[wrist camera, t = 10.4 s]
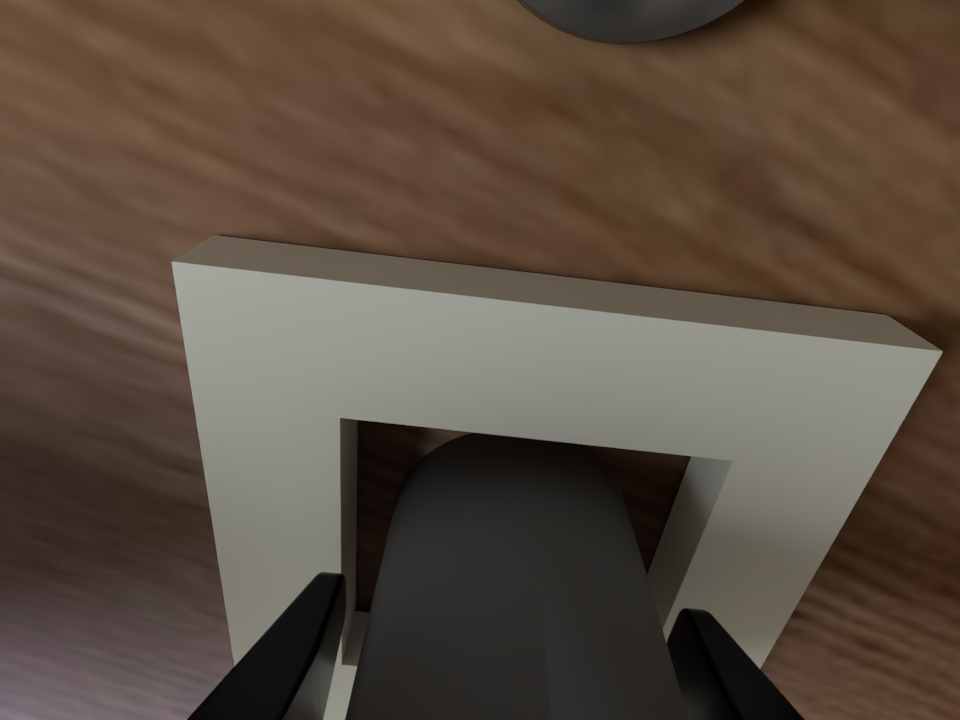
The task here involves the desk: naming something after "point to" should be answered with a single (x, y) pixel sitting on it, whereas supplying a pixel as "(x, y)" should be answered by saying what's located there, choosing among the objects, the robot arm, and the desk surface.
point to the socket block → (529, 414)
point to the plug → (513, 594)
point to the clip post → (627, 17)
